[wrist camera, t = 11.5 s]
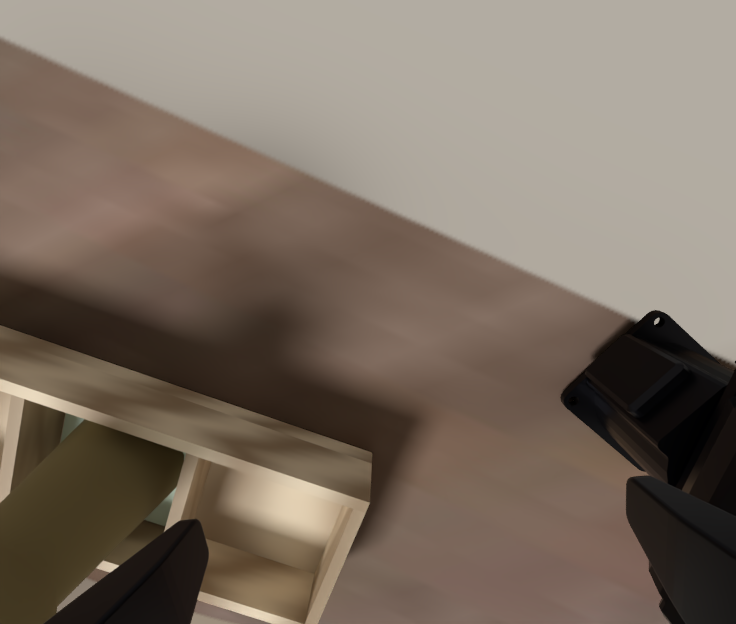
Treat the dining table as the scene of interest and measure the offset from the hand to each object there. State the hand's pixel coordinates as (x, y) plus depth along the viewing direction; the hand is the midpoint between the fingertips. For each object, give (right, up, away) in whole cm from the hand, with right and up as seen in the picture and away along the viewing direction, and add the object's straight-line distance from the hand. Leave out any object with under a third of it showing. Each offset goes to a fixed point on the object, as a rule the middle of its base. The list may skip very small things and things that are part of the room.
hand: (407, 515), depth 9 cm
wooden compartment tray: (-14, -3, +15) cm, 20 cm away
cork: (-14, -3, +14) cm, 20 cm away
